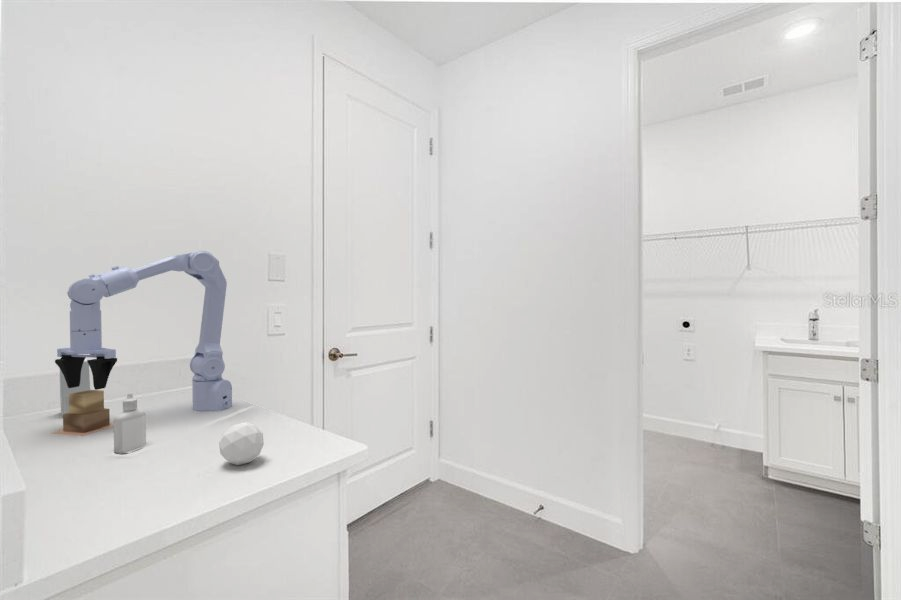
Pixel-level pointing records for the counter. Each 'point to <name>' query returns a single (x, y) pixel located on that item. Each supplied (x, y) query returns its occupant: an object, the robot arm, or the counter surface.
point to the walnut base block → (86, 421)
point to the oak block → (86, 401)
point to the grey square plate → (82, 433)
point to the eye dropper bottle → (129, 427)
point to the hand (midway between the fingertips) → (86, 388)
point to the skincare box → (82, 387)
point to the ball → (241, 443)
